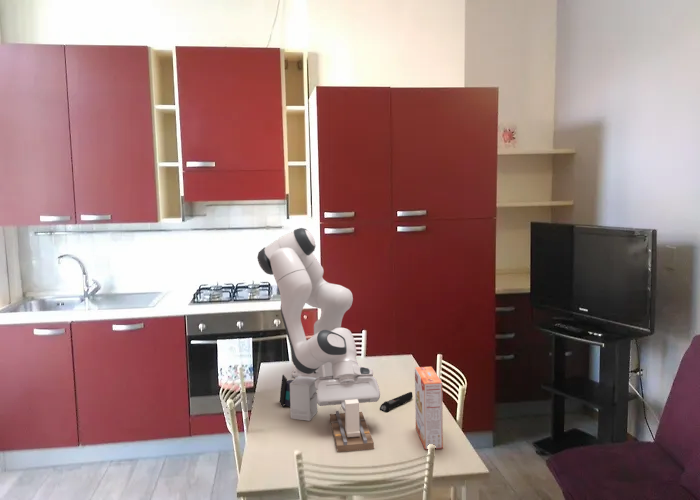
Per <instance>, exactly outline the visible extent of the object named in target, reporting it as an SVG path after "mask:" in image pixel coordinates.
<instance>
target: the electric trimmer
mask: <svg viewBox="0 0 700 500" xmlns="http://www.w3.org/2000/svg"><path fill="white" fill-rule="evenodd" d="M412 399H413V392H412V391H409V392H407V393H404V394H402V395H399V396H397V397H394V398H392V399H390V400H387V401H383V402H382V403H381V404H380V406H379V411H380V412H383V413H389V412H390V410H392V409H394V408H396V407H398V406H403V405H405V404H406V403H407V402H409V401H410V400H412Z"/></svg>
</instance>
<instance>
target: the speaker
mask: <svg viewBox="0 0 700 500" xmlns="http://www.w3.org/2000/svg"><path fill="white" fill-rule="evenodd" d="M293 380H294V379H287V378H286V376H285V374H282V377H281V386H280V395H279V401H278V402H279V404H280V405H281V407H282V408H285V406H287V407H290V383H291V382H292V381H293Z"/></svg>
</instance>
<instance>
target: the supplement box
mask: <svg viewBox="0 0 700 500" xmlns="http://www.w3.org/2000/svg"><path fill="white" fill-rule="evenodd" d="M316 379H317V378H312V377H299V376H298V377H297V378H296V377H295V378H294V379H292V380H293V381H292V382H291V383H290V406H289V407H290V419H293V420H298V421H299V420H301V421H308V422H310V421H311V420H312V418H314V416H316V414H317V413H318V404H317V389H316V388H315V380H316Z"/></svg>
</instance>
